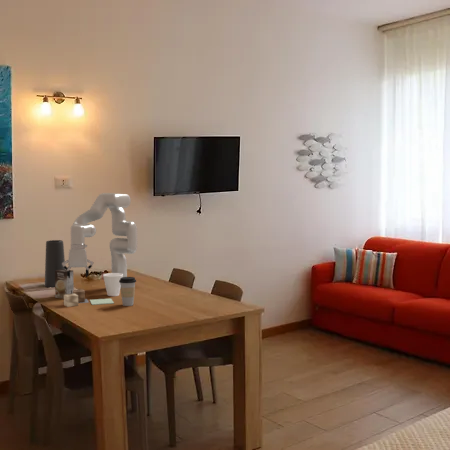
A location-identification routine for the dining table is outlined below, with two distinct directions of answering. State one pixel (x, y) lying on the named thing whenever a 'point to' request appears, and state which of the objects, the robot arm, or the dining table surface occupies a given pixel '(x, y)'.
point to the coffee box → (63, 283)
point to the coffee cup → (127, 290)
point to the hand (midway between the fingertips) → (77, 277)
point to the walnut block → (80, 295)
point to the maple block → (70, 300)
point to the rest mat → (101, 301)
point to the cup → (112, 283)
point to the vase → (53, 260)
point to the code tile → (85, 301)
